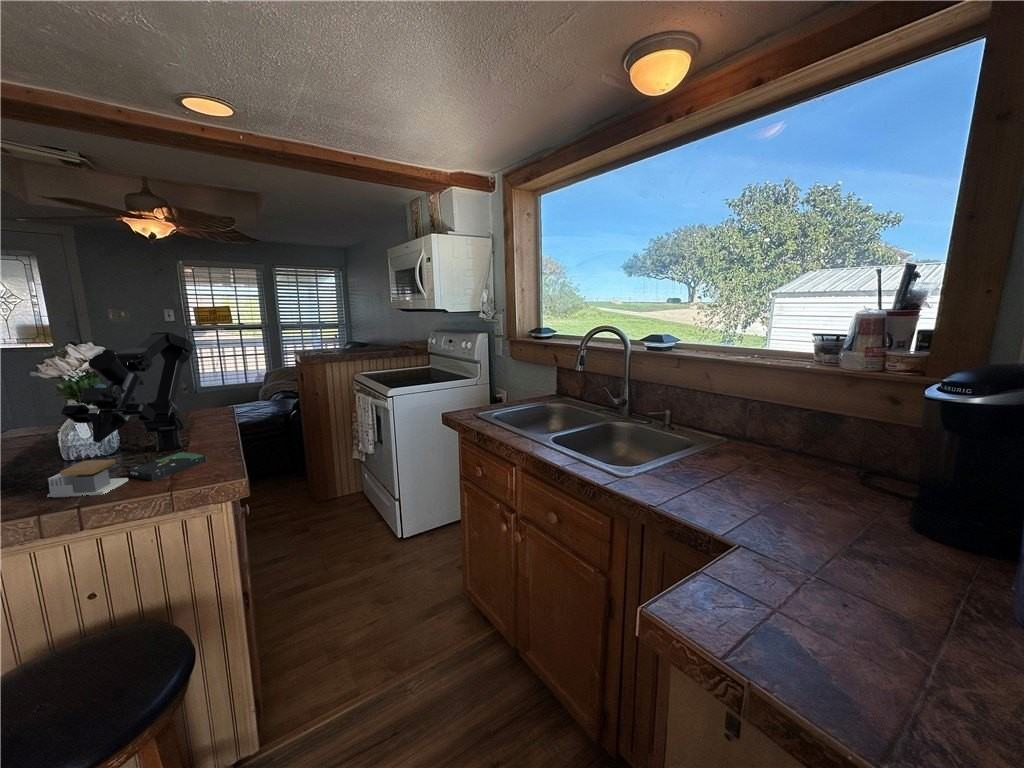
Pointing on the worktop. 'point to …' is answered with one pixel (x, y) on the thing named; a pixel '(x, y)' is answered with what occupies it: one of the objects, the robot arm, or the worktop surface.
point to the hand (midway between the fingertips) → (96, 441)
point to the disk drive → (166, 466)
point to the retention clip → (88, 467)
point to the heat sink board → (83, 484)
